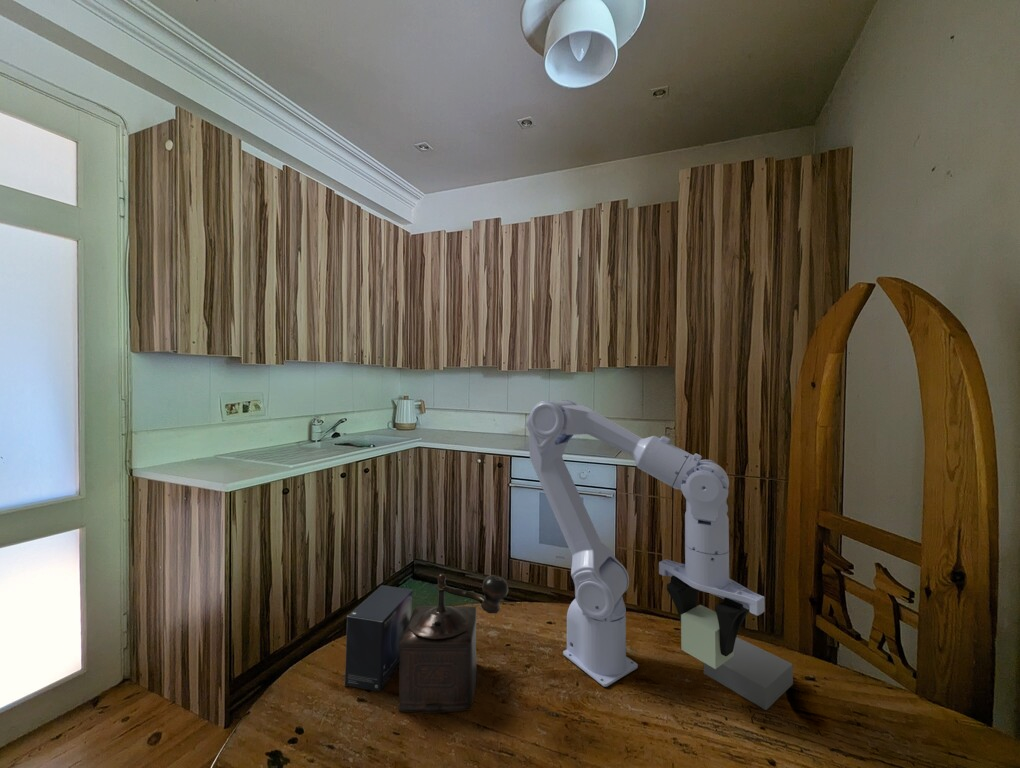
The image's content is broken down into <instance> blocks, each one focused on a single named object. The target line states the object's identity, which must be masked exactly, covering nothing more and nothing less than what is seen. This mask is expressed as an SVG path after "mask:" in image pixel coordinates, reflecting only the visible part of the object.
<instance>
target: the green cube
mask: <svg viewBox="0 0 1020 768" xmlns="http://www.w3.org/2000/svg"><path fill="white" fill-rule="evenodd" d="M680 630H681V631H680V637H681V638H680V639H681V640H680V642H681V651H683V652H684V653H686V654H689V655H690V656H691V657H693V658H695V659H697V660H699V661H700V662H702V663H703V664H704V663H706V664H707V665H709V666H711V667H713V668H714V669H716V668H718V667H719V666H721V665H722V664H723V663H725V662H726V661H727V660H729V659H730V658H731V657H733V656H734V649H733V652H732V653H731V654H729V655H728V656H724V655H722V654H721V651H720V630H719V623H718V618H717V614H716V611H715V610H712V609H711V608H708V607H706V606H704V605H703V604H699V605H696V607H695V608H693V609H691V610H689V611H687V612H685V613H684V614H682V615H681V622H680Z"/></svg>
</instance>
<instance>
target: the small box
mask: <svg viewBox="0 0 1020 768" xmlns="http://www.w3.org/2000/svg"><path fill="white" fill-rule="evenodd" d="M412 614H413V589H411V588H405V587H397V586H390V585H384V584H381V585H380V586H379V587H377V589H375V590H374V591H373V592H372V593H370V595H368V597H366V599H364V600H363V601H362V602H361V603H360V604H359V605H357V607H355V608H354V609H353V610H352V611H351V612H350V613H349V614H347V615H346V638H345V639H346V641H345V668H344V670H345V672H344V686H346V687H353V688H359V689H363V690H369V691H374V692H381V691H382V690H383V688H384V687H385V685H386V684H387V683H388V682H389V680H390V678H392V676H393V675H394V674H395V672H396V671H397V670H398V668H399V656H400V650H399V645H400V640H401V638H402V636H403V633H404V631H405V629H406V627H407V625H408V623H409V621H410V618H411V616H412ZM395 670H396V671H395Z"/></svg>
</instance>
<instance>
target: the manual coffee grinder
mask: <svg viewBox="0 0 1020 768" xmlns="http://www.w3.org/2000/svg"><path fill="white" fill-rule="evenodd" d="M446 579H447V576H446V574H444V573H439V575H438V576H437V585H436V589H437V591H438V601H437V602H438V603H437V605H416V607H415V608H414V610H413V611H412V616H411V618H410V621H409V623H408V625H407V627H406V629H405V631H404V633H403V636H402V638H401V640H400V645H399V650H400V656H399V666H398V668H399V669H398V671H399V672H398V675H399V678H398V683H399V684H398V685H399V686H398V695H399V696H398V697H399V698H398V702H399V703H398V712H406V713H407V712H409V713H410V712H411V713H421V714H440V713H459V712H464V711H469V710H471V709H472V706H473V702H474V699H475V691H476V683H477V675H478V670H477V669H478V668H477V666H478V665H477V639H476V638H477V606H461V605H460V606H458V605H457V606H456V605H455V606H453V605H452V606H451V605H445V595H446V594H445V592H446V593H447V594H450V595H454V596H458V597H463V598H468V599H470V600H471V599H472V600H474V601H477V602H479V603H480V606H481V609H482V610H483V611H484V612H486V613H487V614H498V612H500V611H501V606H500V602H501V601H502V600H503V599H504V598H505V597H507V595H508V593H509V586H508V582H507V580H505V579H504V578H503V577H502V576H499V575H497V574H491V575H488V576H486V577H485V579H484V580H483V581H482V586H481V590H482V592H483V594H484V595H482V594H479V593H476V592H472V591H470V590H464V589H461V588H456V587H452V586H449V585H447V583H446Z"/></svg>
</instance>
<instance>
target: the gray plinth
mask: <svg viewBox="0 0 1020 768" xmlns="http://www.w3.org/2000/svg"><path fill="white" fill-rule="evenodd" d="M703 674H704V675H705V676H707V677H709V678H711V679H712V680H714V681H715V682H717V683H719V684H720V685H723V686H724V687H726V688H727V689H729V690H731V691H733V692H734V693H736V694H737V695H739V696H740V697H742V698H745V699H746V700H747V701H750V702H751V703H753V704H754V705H756V706H757V707H759V708H761V709H763V710H765V711H767V710H768V709H769V708H771V706H772V705H773V704H775V702H776V701H777V700H778V699H779V698H781V697H782V695H783V694H785V692H787V691H788V690H789V688H791V687H792V686H793V685H794V665H793V663H791V662H789V661H788V660H785V658H784V659H783V658H781V657H780V656H777V655H775V654H773V653H771V652H769V651H766V650H764V649H762V648H761V647H758V646H757V645H754V644H753V643H751V642H748V641H747V640H743V638H740V637H738V636H737V637H736V640H735V644H734V656H733V657H731V658H730V659H729V660H727V661H726V662H725V663H723V664H722V665H721V666H719V667H718V668H716V669H714V668H713V667H711V666H709V665H707V664H706V663H704V662H703Z"/></svg>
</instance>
